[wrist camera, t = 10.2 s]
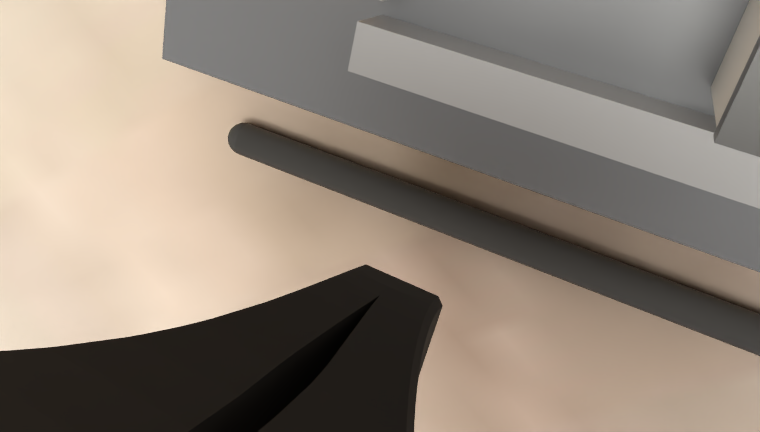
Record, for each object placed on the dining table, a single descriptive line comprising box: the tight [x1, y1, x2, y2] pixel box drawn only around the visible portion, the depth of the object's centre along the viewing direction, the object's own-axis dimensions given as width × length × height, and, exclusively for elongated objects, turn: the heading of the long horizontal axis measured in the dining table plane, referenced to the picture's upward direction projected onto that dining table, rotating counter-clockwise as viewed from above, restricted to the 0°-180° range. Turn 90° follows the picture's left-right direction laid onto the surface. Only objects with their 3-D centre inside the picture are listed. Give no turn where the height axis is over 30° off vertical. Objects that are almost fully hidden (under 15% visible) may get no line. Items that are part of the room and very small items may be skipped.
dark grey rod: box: [228, 123, 760, 356], centre depth 19 cm, size 21×1×1 cm, turn 77°
